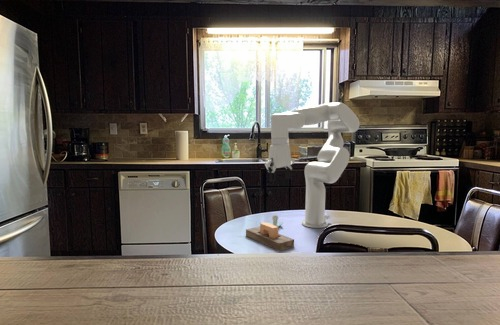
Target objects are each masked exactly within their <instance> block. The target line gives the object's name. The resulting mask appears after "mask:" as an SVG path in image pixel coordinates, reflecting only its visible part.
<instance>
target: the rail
mask: <svg viewBox="0 0 500 325" xmlns="http://www.w3.org/2000/svg"><path fill="white" fill-rule="evenodd" d="M245 237H247V238H249V239H252V240H255V241H257V242H259V243H260V244H262V245H266V246H268V247H270V248H272V249H274V250H276V251H278V250H279V251H283V250H287V249H291V248H295V239H293V238H291V237H288V236H286V235H284V234H280V233H278V237H277V238H269V233H268V234H264V235H262V234H260V226H256V227H252V228H246V229H245Z"/></svg>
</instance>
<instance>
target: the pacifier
mask: <svg viewBox="0 0 500 325" xmlns="http://www.w3.org/2000/svg"><path fill="white" fill-rule="evenodd" d="M271 219H272V222H269V221H268V222H267V223H269V224H272V225H274V226H277V227H278V228H279V227H282V225H283V224H284V223H283V222H282V221H281V222H280V221H279V222H278V220H279V216H278V215H277V214H273V215H272V216H271Z"/></svg>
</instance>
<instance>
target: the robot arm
mask: <svg viewBox="0 0 500 325" xmlns="http://www.w3.org/2000/svg"><path fill="white" fill-rule="evenodd" d="M324 122H327V132H328V138H327V140H326V142H325V143H324V144H323V146H322V147H321V149H320V150H319V151H318V153H317V161H311V162H308V163H307V164H306V165H305V166H304V170H303V171H304V178H305V207H304V209H305V212H304V214H305V215H304V219H303V220H302V221H301V225H302V226H304V227H306V228H313V229H321V228H326V227H328V222H327V220H329V219H331V216H330V215H329V214H328V215H325V212H326V210H325V209H326V186H325V184H334V183H336V182H337V181H338V180H339V179H340V177H341V176H342V175H343V172H344V170H346V168H347V166H348V164H349V162H350V152H349V150H348V149H347V148H346V147H344V138H343V136H342V133H347V134H348V133H355V132H357V131H358V130H359V128H360V119H359V118H358V116H357V115H356V113H354V111H353V110H352V109H351V108H350V107H349V106H348V105H347V104H345V103H343V102H341V101H340V102H328V103H327V102H326V103H322V104H318V105H312V106H310V107H304V108H300V109H295V110H290V111H285V112H280V113H273V114H271V116H270V129H271V130H270V132H271V133H270V134H271V136H270V137H271V138H270V139H271V144H270V145H269V149H268V160H267V161H266V162H265V163H264V166H265V168H266V170H267V172H268V173H269V182H272V183H275V182H276V169H281V168H285V170H284V171H285V172H284V174H285V175H284V177H285V179H287V180H288V179H289V180H291V179H292V170H293V167H294V165H295V161H296V160H295V159H294V158H293V157H291V156H292V155H291V148H290V143H289V141H290V138H289V130H293V131H295V130H300V129H302V128H303V127H304V126H314V125H317V124H320V123H324ZM324 183H325V184H324Z"/></svg>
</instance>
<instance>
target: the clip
mask: <svg viewBox="0 0 500 325" xmlns="http://www.w3.org/2000/svg"><path fill="white" fill-rule="evenodd" d="M259 224H260V225H259V227H260V234H262V235H264V234H268V233H269V238H277V237H278V234H279V227H277V226H274V225H272V224H269V223H268V222H265V221H264V222H261V223H259Z"/></svg>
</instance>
